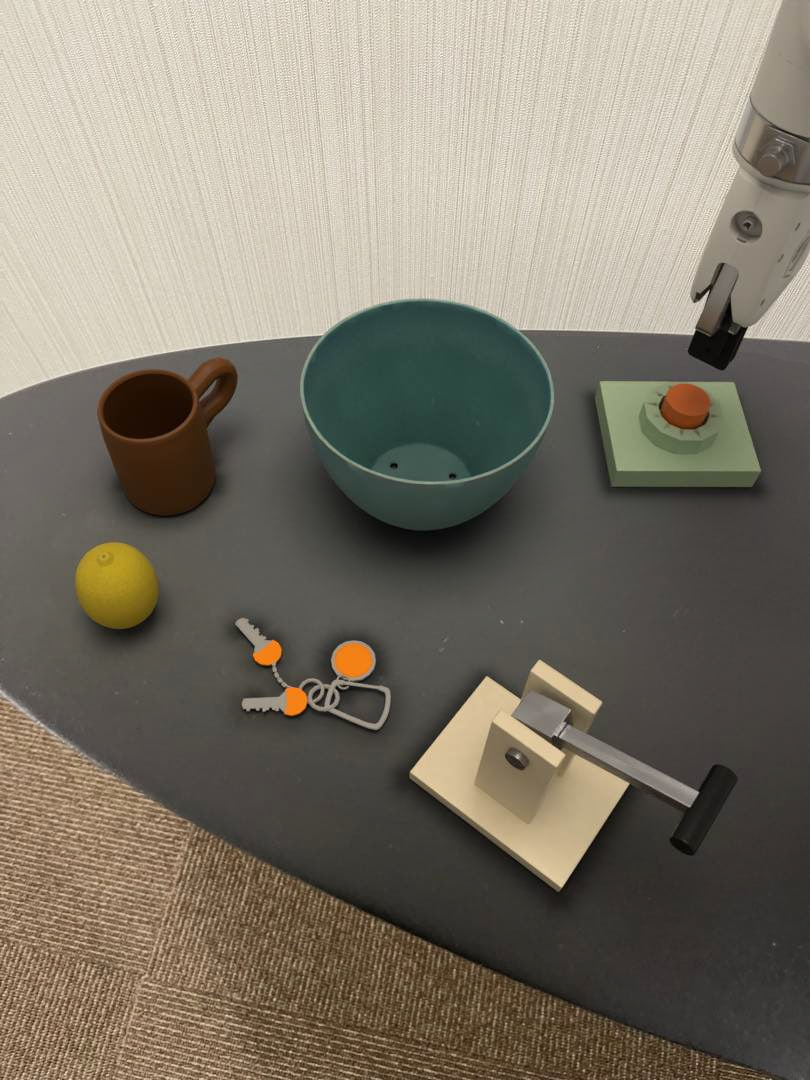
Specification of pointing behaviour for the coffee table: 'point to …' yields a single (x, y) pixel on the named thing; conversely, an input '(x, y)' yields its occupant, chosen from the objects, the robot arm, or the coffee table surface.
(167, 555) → the coffee table surface
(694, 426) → the button
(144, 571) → the lemon
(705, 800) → the lever
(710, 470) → the button block
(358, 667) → the key chain
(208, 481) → the mug
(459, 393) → the plant pot
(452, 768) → the bracket
